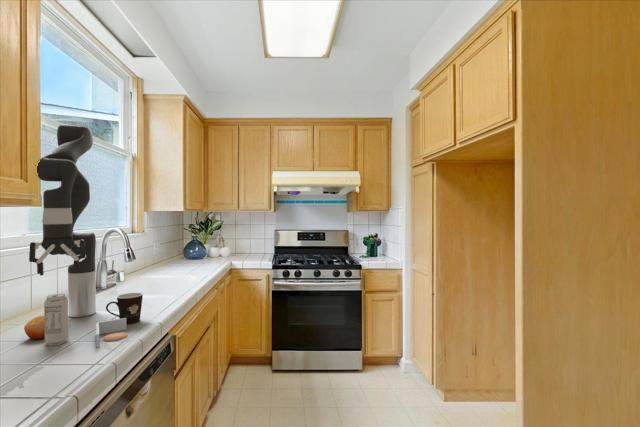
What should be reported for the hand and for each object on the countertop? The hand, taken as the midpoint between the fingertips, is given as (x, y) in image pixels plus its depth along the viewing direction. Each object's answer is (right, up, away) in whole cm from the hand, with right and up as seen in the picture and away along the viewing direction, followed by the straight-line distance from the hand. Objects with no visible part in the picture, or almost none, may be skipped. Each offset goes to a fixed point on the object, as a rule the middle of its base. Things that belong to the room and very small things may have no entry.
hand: (58, 273), depth 112 cm
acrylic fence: (+14, -22, +4) cm, 27 cm away
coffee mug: (+10, -22, +20) cm, 32 cm away
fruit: (-10, -22, +5) cm, 25 cm away
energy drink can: (-1, -22, 0) cm, 22 cm away
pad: (+15, -22, +5) cm, 27 cm away
